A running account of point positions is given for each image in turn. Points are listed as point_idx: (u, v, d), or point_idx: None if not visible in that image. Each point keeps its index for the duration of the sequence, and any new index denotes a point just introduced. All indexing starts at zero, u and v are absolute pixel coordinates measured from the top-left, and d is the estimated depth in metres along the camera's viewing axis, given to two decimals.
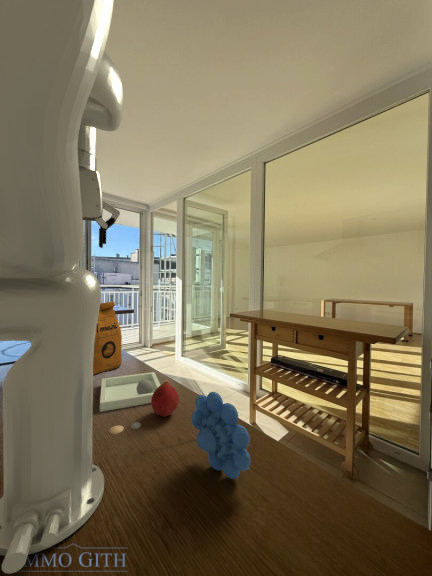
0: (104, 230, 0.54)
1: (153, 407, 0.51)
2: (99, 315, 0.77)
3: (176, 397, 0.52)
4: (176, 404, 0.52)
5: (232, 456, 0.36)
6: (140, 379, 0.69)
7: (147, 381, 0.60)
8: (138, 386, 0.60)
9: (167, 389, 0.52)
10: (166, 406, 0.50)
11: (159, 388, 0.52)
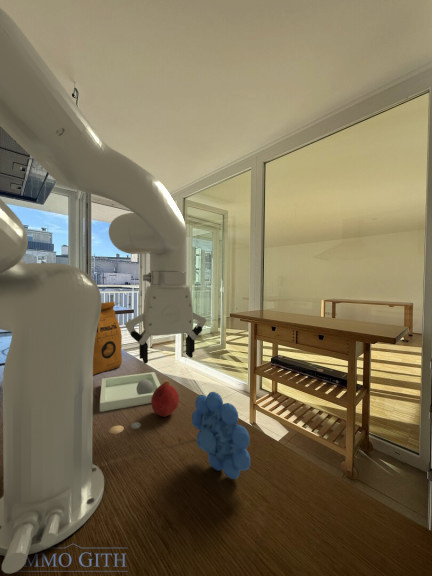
0: (193, 340, 0.54)
1: (153, 407, 0.51)
2: None
3: (176, 397, 0.52)
4: (176, 404, 0.52)
5: (232, 456, 0.36)
6: (140, 379, 0.69)
7: (147, 381, 0.60)
8: (138, 386, 0.60)
9: (167, 389, 0.52)
10: (166, 406, 0.50)
11: (159, 388, 0.52)
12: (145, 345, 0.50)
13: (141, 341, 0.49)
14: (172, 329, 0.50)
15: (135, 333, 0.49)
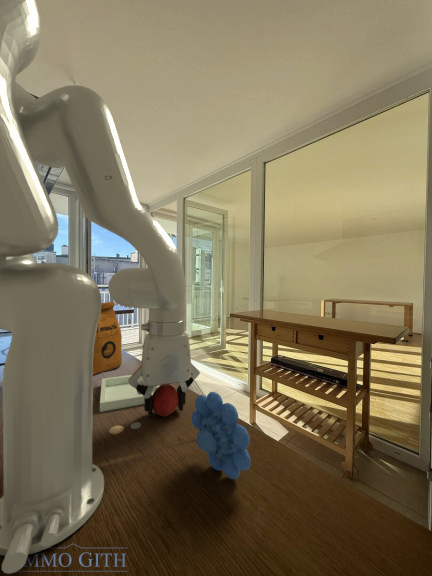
0: (184, 392, 0.54)
1: (153, 407, 0.51)
2: None
3: (176, 397, 0.52)
4: (176, 404, 0.52)
5: (232, 456, 0.36)
6: (140, 379, 0.69)
7: None
8: None
9: (167, 389, 0.52)
10: (166, 406, 0.50)
11: (159, 388, 0.52)
12: (150, 399, 0.50)
13: (146, 395, 0.50)
14: (170, 379, 0.50)
15: (141, 387, 0.50)
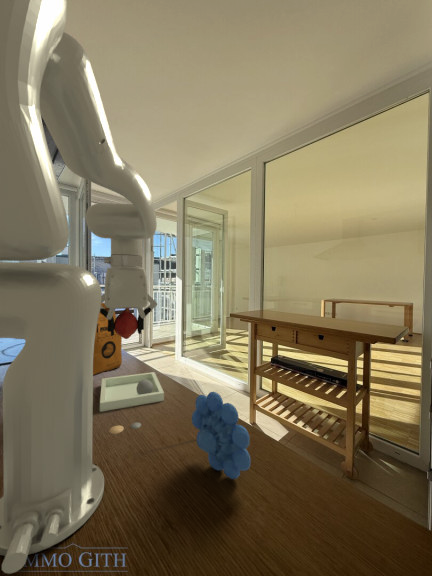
0: (142, 319, 0.63)
1: (114, 328, 0.61)
2: (99, 315, 0.77)
3: (135, 321, 0.62)
4: (134, 327, 0.61)
5: (232, 456, 0.36)
6: (140, 379, 0.69)
7: (147, 381, 0.60)
8: (138, 386, 0.60)
9: (126, 314, 0.61)
10: (125, 326, 0.60)
11: (120, 313, 0.62)
12: (111, 320, 0.60)
13: (108, 317, 0.60)
14: (128, 304, 0.60)
15: (103, 310, 0.60)
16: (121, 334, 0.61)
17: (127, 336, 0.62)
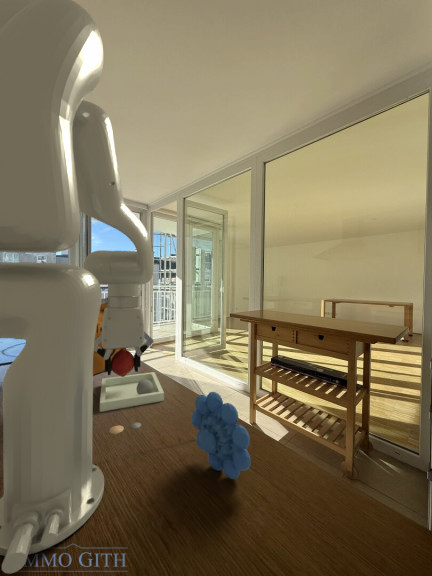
0: (139, 357, 0.64)
1: (111, 367, 0.61)
2: (99, 315, 0.77)
3: (131, 360, 0.63)
4: (131, 365, 0.62)
5: (232, 456, 0.36)
6: (140, 379, 0.69)
7: (147, 381, 0.60)
8: (138, 386, 0.60)
9: (123, 353, 0.62)
10: (122, 366, 0.61)
11: (117, 352, 0.63)
12: (108, 360, 0.61)
13: (105, 357, 0.61)
14: (125, 344, 0.61)
15: (100, 350, 0.60)
16: (118, 373, 0.62)
17: (124, 375, 0.63)
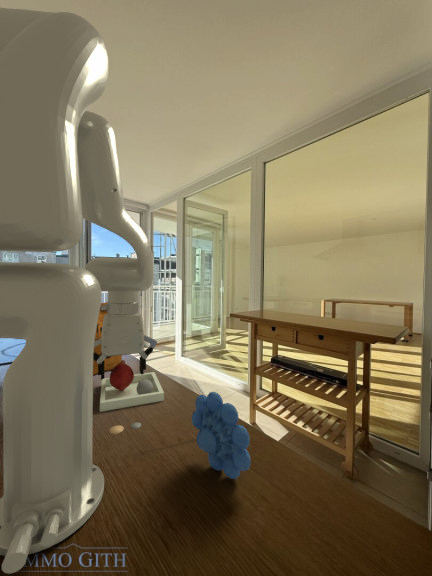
0: (144, 359, 0.65)
1: (110, 382, 0.61)
2: (99, 315, 0.77)
3: (130, 374, 0.62)
4: (130, 379, 0.62)
5: (232, 456, 0.36)
6: (140, 379, 0.69)
7: (147, 381, 0.60)
8: (138, 386, 0.60)
9: (122, 367, 0.62)
10: (121, 381, 0.60)
11: (116, 366, 0.62)
12: (102, 364, 0.60)
13: (98, 361, 0.60)
14: (124, 350, 0.61)
15: (93, 354, 0.60)
16: (117, 388, 0.61)
17: (123, 389, 0.62)
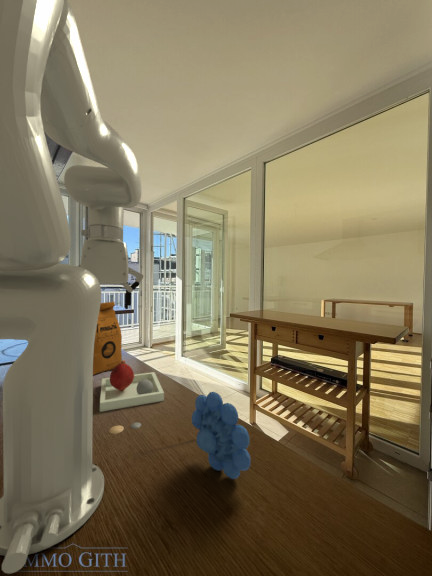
0: (129, 293, 0.59)
1: (110, 382, 0.61)
2: (99, 315, 0.77)
3: (130, 374, 0.62)
4: (130, 379, 0.62)
5: (232, 456, 0.36)
6: (140, 379, 0.69)
7: (147, 381, 0.60)
8: (138, 386, 0.60)
9: (122, 367, 0.62)
10: (121, 381, 0.60)
11: (116, 366, 0.62)
12: None
13: None
14: (106, 279, 0.55)
15: None
16: (117, 388, 0.61)
17: (123, 389, 0.62)
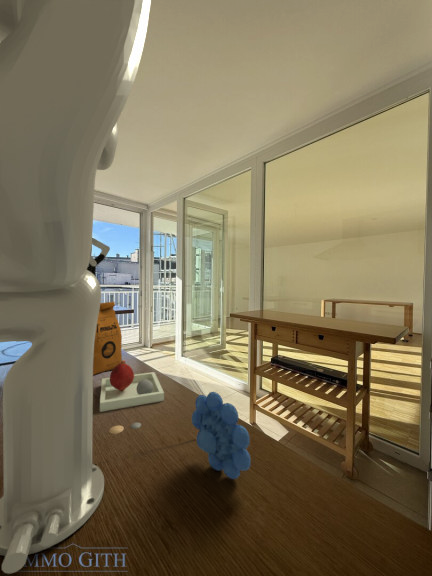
0: (93, 267, 0.52)
1: (110, 382, 0.61)
2: (99, 315, 0.77)
3: (130, 374, 0.62)
4: (130, 380, 0.62)
5: (232, 456, 0.36)
6: (140, 379, 0.69)
7: (147, 381, 0.60)
8: (138, 386, 0.60)
9: (122, 367, 0.62)
10: (121, 381, 0.60)
11: (116, 366, 0.62)
12: None
13: None
14: None
15: None
16: (117, 388, 0.61)
17: (123, 389, 0.62)
